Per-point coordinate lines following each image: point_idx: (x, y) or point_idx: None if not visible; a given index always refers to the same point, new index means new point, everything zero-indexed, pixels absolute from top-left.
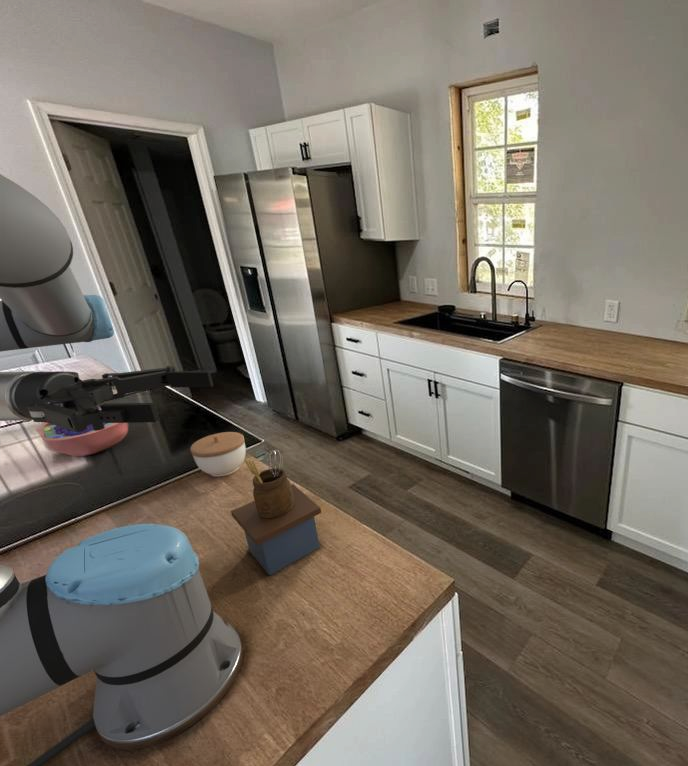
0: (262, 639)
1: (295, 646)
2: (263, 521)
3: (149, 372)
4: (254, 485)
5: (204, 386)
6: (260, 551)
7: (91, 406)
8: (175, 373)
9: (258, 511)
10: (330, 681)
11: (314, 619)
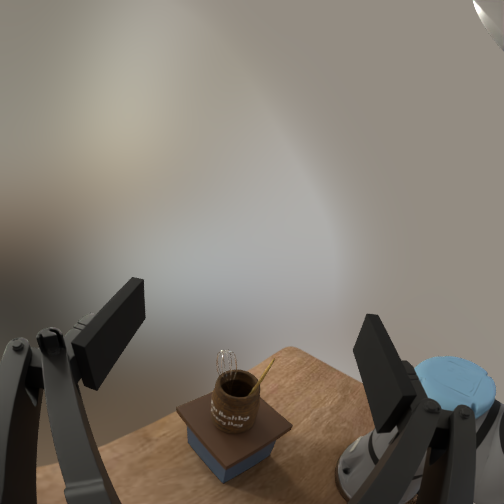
0: (340, 438)
1: (344, 416)
2: (258, 425)
3: (16, 401)
4: (254, 399)
5: (138, 326)
6: (265, 448)
7: (421, 419)
8: (100, 331)
9: (250, 426)
10: (364, 392)
11: (322, 410)
